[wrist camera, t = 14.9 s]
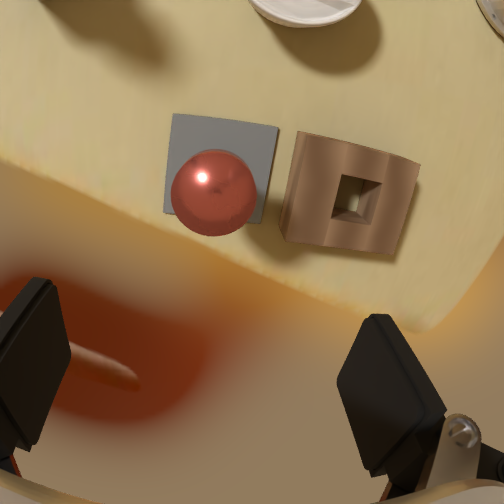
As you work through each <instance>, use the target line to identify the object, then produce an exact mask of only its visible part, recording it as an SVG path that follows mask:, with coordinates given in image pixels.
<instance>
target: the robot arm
mask: <svg viewBox="0 0 504 504" xmlns="http://www.w3.org/2000/svg"><path fill="white" fill-rule="evenodd" d="M477 3H478V4H479V6H480V8H481V10H482V12H483V14H484V15H485V17H486V19H487V20H488V21H489V23H490V24H491V25H492V27H493V28H494V29H495V30H496V31H497V32H498V33H499V34H500V35H501V36H502V37H504V0H477ZM70 359H71V349H70V346H69V342H68V338H67V334H66V329H65V325H64V321H63V316H62V311H61V307H60V302H59V296H58V291H57V287H56V286H55V285H53V283H52V281H51V280H49V279H44V278H39V277H33V278H32V279H31V280H30V281H29V282H28V283H27V285H26V286H25V287H24V288H23V289H22V290H21V292H20V293H19V294H18V295H17V296H16V298H15V299H14V300H13V301H12V303H11V304H10V305H9V306H8V308H7V309H6V310H5V312H4V313H3V314H2V315H1V317H0V504H103V503H99V502H94V501H90V500H87V499H83V498H80V497H76V496H73V495H70V494H66V493H63V492H60V491H57V490H54V489H51V488H48V487H45V486H43V485H40V484H37V483H34V482H31V481H29V480H26V479H24V478H22V475H21V473H20V471H19V468H18V466H17V463H16V460H15V458H14V455H13V452H14V449H15V447H18V448H20V449H23V450H25V451H28V452H30V450H31V447H32V445H35V444H36V443H37V442H38V440H39V437H40V434H41V431H42V428H43V426H44V423H45V420H46V418H47V415H48V412H49V410H50V407H51V405H52V402H53V400H54V397H55V395H56V393H57V390H58V388H59V385H60V383H61V381H62V378H63V376H64V374H65V372H66V369H67V367H68V365H69V363H70ZM337 387H338V390H339V393H340V396H341V399H342V402H343V405H344V407H345V411H346V414H347V417H348V419H349V423H350V426H351V429H352V431H353V435H354V438H355V441H356V444H357V447H358V450H359V453H360V457H361V460H362V463H363V466H364V468H365V469H366V470H369V472H370V475H371V477H377V476H381V475H386V474H387V475H388V478H389V481H388V483H387V485H386V487H385V490H384V492H383V494H382V496H381V498H380V500H379V502H376V503H372V504H504V453H502V452H500V451H498V450H496V449H494V448H492V447H490V446H488V445H486V444H484V443H482V442H481V440H482V439H481V432H480V429H479V427H478V426H477V424H476V423H475V422H474V421H473V420H472V419H471V418H469V417H468V416H466V415H463V414H452V415H450V416H448V417H447V418H445V416H444V414H445V412H446V411H447V409H446V407H445V405H444V403H443V401H442V400H441V398H440V396H439V394H438V393H437V391H436V389H435V387H434V386H433V384H432V382H431V381H430V379H429V377H428V375H427V374H426V372H425V371H424V369H423V367H422V365H421V364H420V362H419V361H418V359H417V357H416V356H415V354H414V352H413V351H412V349H411V348H410V346H409V344H408V343H407V341H406V340H405V338H404V336H403V335H402V333H401V332H400V330H399V329H398V327H397V325H396V324H395V322H394V321H393V319H392V318H391V316H390V315H388V314H371V315H370V316H369V317H368V318H366V319H365V320H364V321H363V323H362V325H361V328H360V330H359V332H358V334H357V337H356V339H355V341H354V343H353V345H352V347H351V350H350V352H349V354H348V356H347V358H346V361H345V362H344V364H343V367H342V369H341V371H340V373H339V375H338V377H337Z"/></svg>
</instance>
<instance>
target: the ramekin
mask: <svg viewBox="0 0 504 504" xmlns="http://www.w3.org/2000/svg"><path fill="white" fill-rule="evenodd" d="M248 1H249V3H250V4H251V5H252V7H253V8H255V9H256V11H257V12H258V13H260V14H261V15H262V16H264V17H265V18H267V19H268V20H271V21H273V22H274V23H278V24H280V25H284V26H287V27H293V28H297V27H298V28H304V27H321V26H327V25H330V24H334V23H336V22H339V21H341V20H343V19H345V18H346V17H348V16H349V15H350V14H352V13H353V12H354V11H355V10H356V9H357V8H358V6H359V5H360V3H361V1H362V0H248Z"/></svg>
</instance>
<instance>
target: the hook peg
mask: <svg viewBox="0 0 504 504" xmlns="http://www.w3.org/2000/svg"><path fill="white" fill-rule="evenodd" d="M256 200H257V190H256V185H255V181H254V178H253V175H252V172H251V170H250V168H249V167H248V165H247V164H246V163H245V161H244V160H243V159H241V158H240V157H239V156H237V155H236V154H234V153H232V152H230V151H227V150H222V149H208V150H204V151H201V152H198V153H196V154H195V155H193V156H192V157H190V158H189V159H188V160H187V161H186V162H185V163H184V164H183V166H182V167H181V168H180V170H179V171H178V172H177V174H176V176H175V178H174V180H173V183H172V186H171V203H172V207H173V210H174V212H175V214H176V216H177V217H178V219H179V220H180V221H181V222H182V223H183V224H184V225H185V226H186V227H187V228H189V229H190V230H192V231H194V232H196V233H198V234H201V235H206V236H222V235H226V234H230V233H232V232H234V231H236V230H237V229H239V228H240V227H242V226H243V225H244V224H245V223H246V222H247V221H248V219H249V218H250V217H251V215H252V213H253V211H254V209H255V205H256Z"/></svg>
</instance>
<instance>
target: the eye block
mask: <svg viewBox="0 0 504 504" xmlns="http://www.w3.org/2000/svg"><path fill="white" fill-rule="evenodd" d="M419 169H420V164H418V163H416V162H413V161H411V160H408V159H406V158H403V157H401V156H397V155H394V154H391V153H387V152H384V151H380V150H376V149H373V148H369V147H365V146H361V145H358V144H354V143H350V142H346V141H341V140H337V139H333V138H329V137H324V136H320V135H315V134H310V133H306V132H301V131H298V132H297V138H296V143H295V148H294V153H293V158H292V163H291V168H290V173H289V178H288V183H287V188H286V193H285V198H284V202H283V207H282V212H281V217H280V222H279V227H280V230H281V232H282V234H283V237H284V239H285V241H288V242H296V243H304V244H312V245H320V246H328V247H336V248H343V249H351V250H359V251H366V252H374V253H381V254H389V255H393V253H394V251H395V248H396V245H397V242H398V239H399V236H400V233H401V230H402V227H403V224H404V221H405V218H406V215H407V211H408V208H409V205H410V201H411V198H412V195H413V191H414V188H415V184H416V180H417V177H418V173H419ZM341 174H344V175H349V176H354V177H358V178H363V179H365V180H364V184H363V188H362V192H361V196H360V199H359V203H358V207H357V210H356V212H354V211H349V210H343V209H337V208H333V207H334V203H335V199H336V195H337V191H338V187H339V183H340V179H341Z"/></svg>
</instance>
